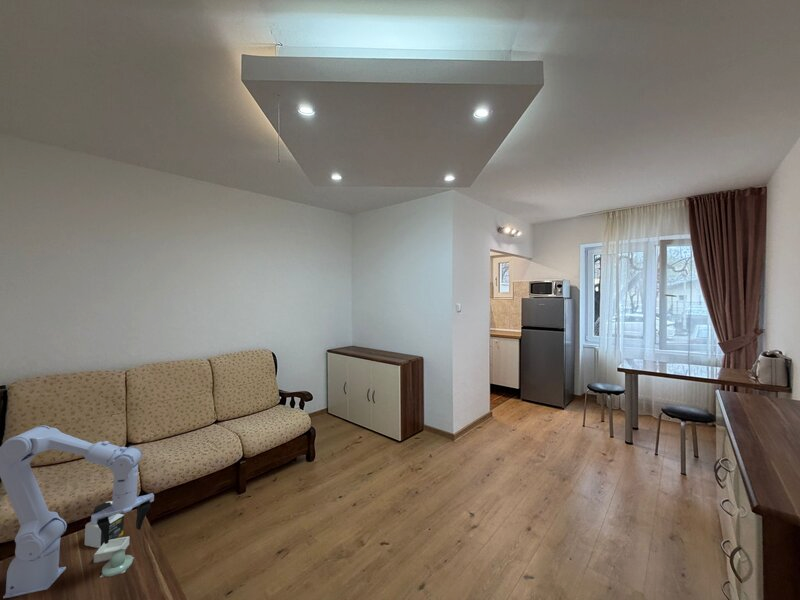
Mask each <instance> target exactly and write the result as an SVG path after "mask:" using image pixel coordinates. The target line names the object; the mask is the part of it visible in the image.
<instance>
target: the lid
mask: <svg viewBox="0 0 800 600" xmlns="http://www.w3.org/2000/svg"><path fill="white" fill-rule="evenodd" d="M133 557H134V556H133V555H131V554H126V550H125V549H120V550H117V551H115V552H114V553H112V555H111V560H110V561H107V562H106V563H105V564H104V565H103V566H102V568H101V575H103V576H105V578H106V577H114V576H117V575H119V573H120V574H122V573H121V572H123V571H125V570H126V571H127V569H129V568H130V567H131V566H132V564H133V560H134V559H133ZM126 571H125V572H126Z"/></svg>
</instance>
